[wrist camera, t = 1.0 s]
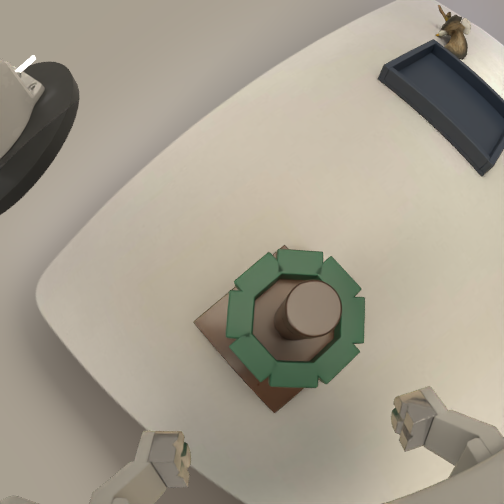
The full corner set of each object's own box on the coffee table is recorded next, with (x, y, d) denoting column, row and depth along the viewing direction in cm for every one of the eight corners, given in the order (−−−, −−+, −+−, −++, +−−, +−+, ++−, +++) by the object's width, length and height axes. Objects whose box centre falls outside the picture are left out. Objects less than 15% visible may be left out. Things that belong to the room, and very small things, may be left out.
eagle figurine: (421, 14, 36) (428, 29, 32) (451, -3, 31) (464, 10, 27) (446, 47, 40) (455, 67, 36) (475, 32, 34) (489, 51, 30)
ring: (201, 313, 15) (198, 311, 14) (298, 232, 17) (301, 223, 16) (288, 410, 14) (291, 415, 13) (380, 322, 15) (389, 320, 14)
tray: (377, 79, 32) (383, 64, 30) (427, 50, 35) (433, 38, 32) (481, 176, 28) (493, 166, 26) (511, 127, 31) (520, 117, 29)
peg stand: (195, 323, 24) (130, 293, 11) (283, 249, 26) (314, 147, 12) (273, 410, 22) (300, 483, 9) (358, 331, 24) (465, 310, 11)
